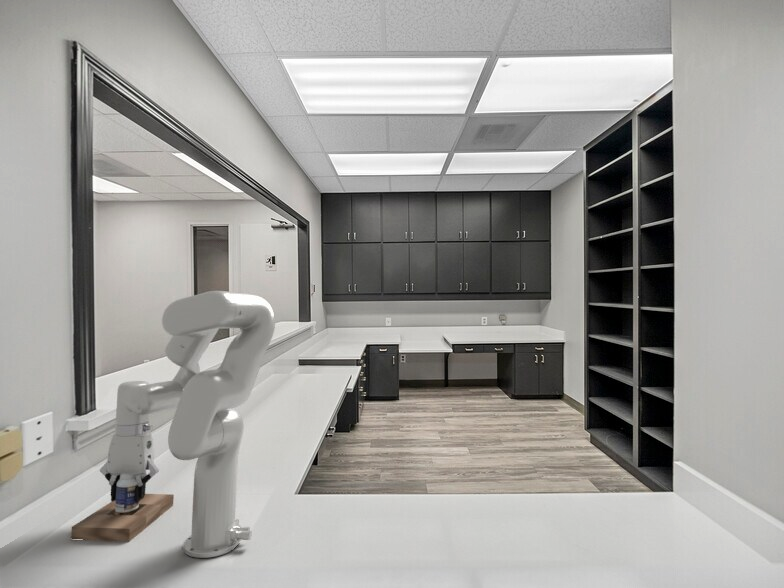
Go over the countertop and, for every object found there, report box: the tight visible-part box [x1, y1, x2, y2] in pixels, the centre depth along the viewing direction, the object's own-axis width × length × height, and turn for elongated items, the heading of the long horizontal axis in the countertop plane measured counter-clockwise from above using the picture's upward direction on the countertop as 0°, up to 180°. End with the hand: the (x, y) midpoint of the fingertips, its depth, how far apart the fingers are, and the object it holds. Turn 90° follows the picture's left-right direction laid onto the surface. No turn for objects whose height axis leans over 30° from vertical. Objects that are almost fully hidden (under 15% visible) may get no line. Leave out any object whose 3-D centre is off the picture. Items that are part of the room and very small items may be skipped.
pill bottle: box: [115, 474, 139, 513], centre depth 113 cm, size 5×5×10 cm
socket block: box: [70, 493, 175, 543], centre depth 112 cm, size 14×20×3 cm
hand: (127, 498), depth 112 cm, fingers closed on pill bottle, 5 cm apart
